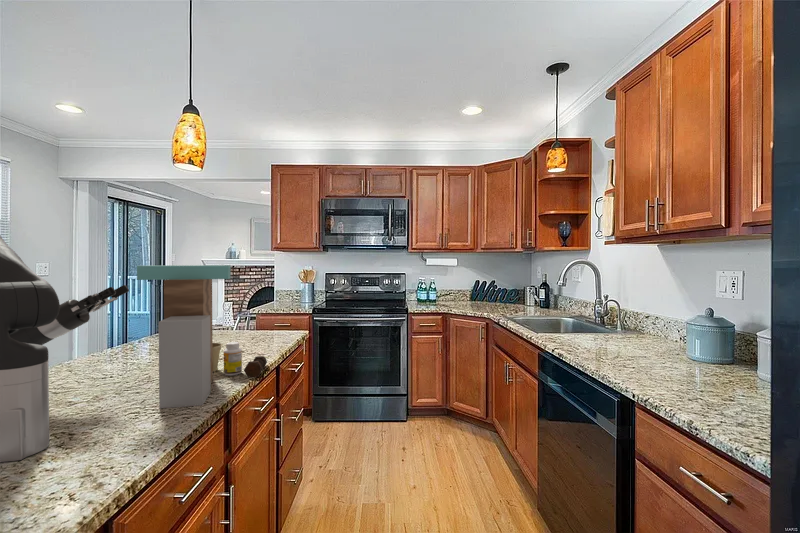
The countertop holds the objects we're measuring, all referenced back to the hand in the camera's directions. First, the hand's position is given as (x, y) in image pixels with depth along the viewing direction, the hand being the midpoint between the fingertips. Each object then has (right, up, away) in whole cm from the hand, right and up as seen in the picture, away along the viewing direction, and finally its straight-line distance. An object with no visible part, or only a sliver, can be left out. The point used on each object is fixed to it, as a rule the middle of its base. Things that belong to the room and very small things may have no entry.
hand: (120, 288), depth 114 cm
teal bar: (+16, +3, +4) cm, 17 cm away
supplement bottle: (+24, -29, +19) cm, 42 cm away
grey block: (+22, -30, -6) cm, 37 cm away
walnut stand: (+17, -29, +5) cm, 34 cm away
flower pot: (+14, -29, +22) cm, 39 cm away
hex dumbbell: (+31, -30, +22) cm, 48 cm away
